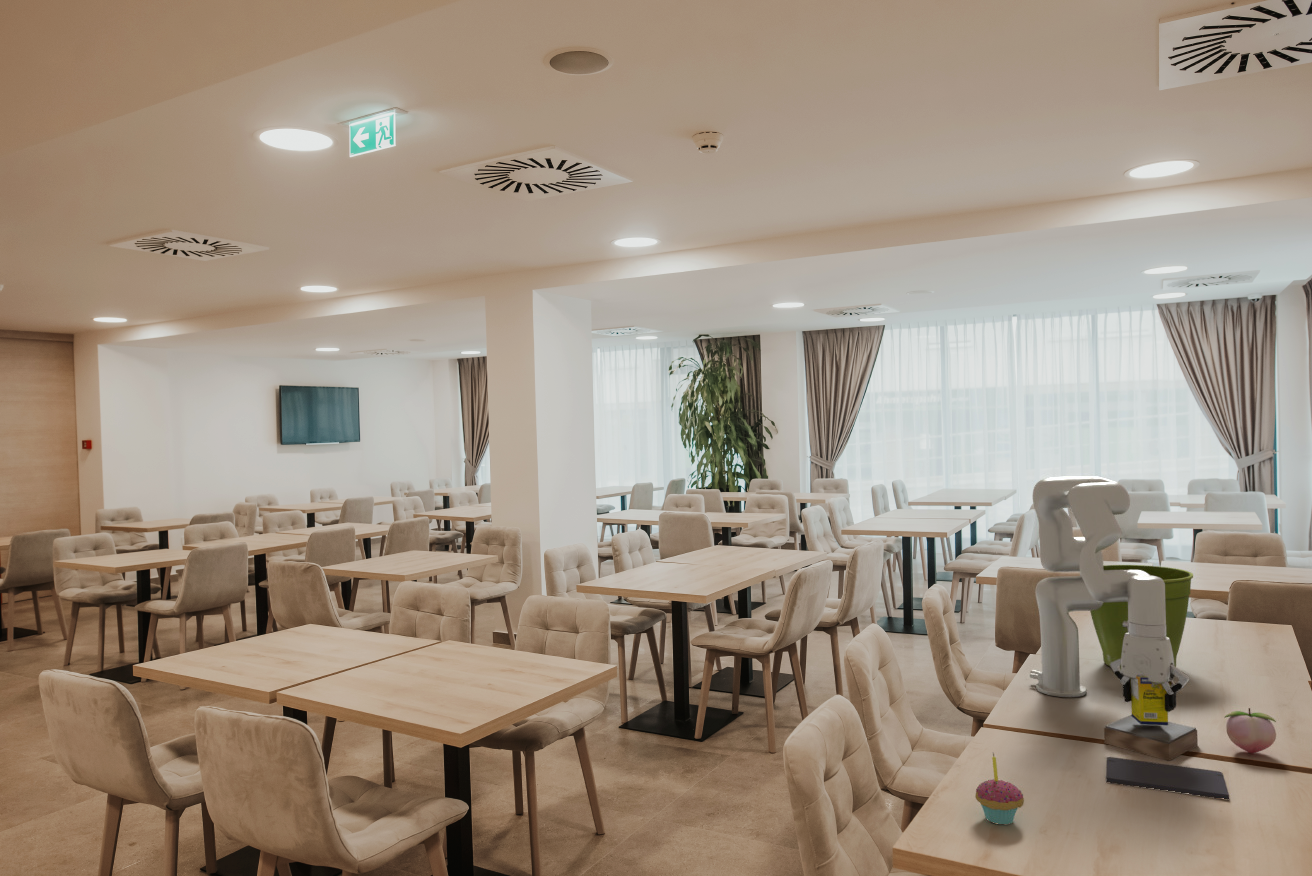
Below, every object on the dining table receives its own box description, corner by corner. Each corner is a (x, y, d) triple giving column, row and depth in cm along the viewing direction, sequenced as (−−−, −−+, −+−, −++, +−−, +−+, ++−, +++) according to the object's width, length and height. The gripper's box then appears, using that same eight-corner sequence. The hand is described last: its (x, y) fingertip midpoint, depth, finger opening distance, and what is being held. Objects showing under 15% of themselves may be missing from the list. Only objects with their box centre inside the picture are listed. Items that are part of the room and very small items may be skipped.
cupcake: (968, 811, 166) (966, 749, 166) (1010, 808, 166) (1008, 746, 166) (989, 831, 157) (987, 766, 157) (1033, 828, 158) (1031, 763, 158)
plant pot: (1196, 660, 264) (1193, 567, 264) (1195, 685, 239) (1192, 582, 239) (1088, 649, 280) (1086, 562, 280) (1077, 672, 255) (1075, 576, 255)
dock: (1104, 743, 198) (1104, 726, 198) (1134, 729, 206) (1133, 713, 206) (1169, 760, 187) (1168, 742, 187) (1197, 745, 195) (1197, 728, 195)
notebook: (1106, 784, 177) (1229, 803, 167) (1105, 777, 177) (1229, 794, 167) (1106, 763, 188) (1222, 779, 178) (1106, 756, 188) (1222, 771, 178)
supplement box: (1169, 725, 193) (1167, 677, 193) (1140, 724, 194) (1138, 676, 194) (1159, 717, 199) (1157, 670, 199) (1131, 716, 200) (1129, 669, 200)
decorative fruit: (1268, 747, 192) (1267, 703, 192) (1281, 761, 185) (1280, 715, 185) (1220, 744, 196) (1218, 700, 195) (1231, 757, 188) (1229, 711, 188)
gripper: (1100, 626, 202) (1102, 700, 202) (1180, 639, 187) (1182, 718, 188) (1116, 621, 206) (1118, 693, 206) (1195, 633, 192) (1197, 711, 192)
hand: (1149, 705), depth 197 cm, fingers closed on supplement box, 8 cm apart
